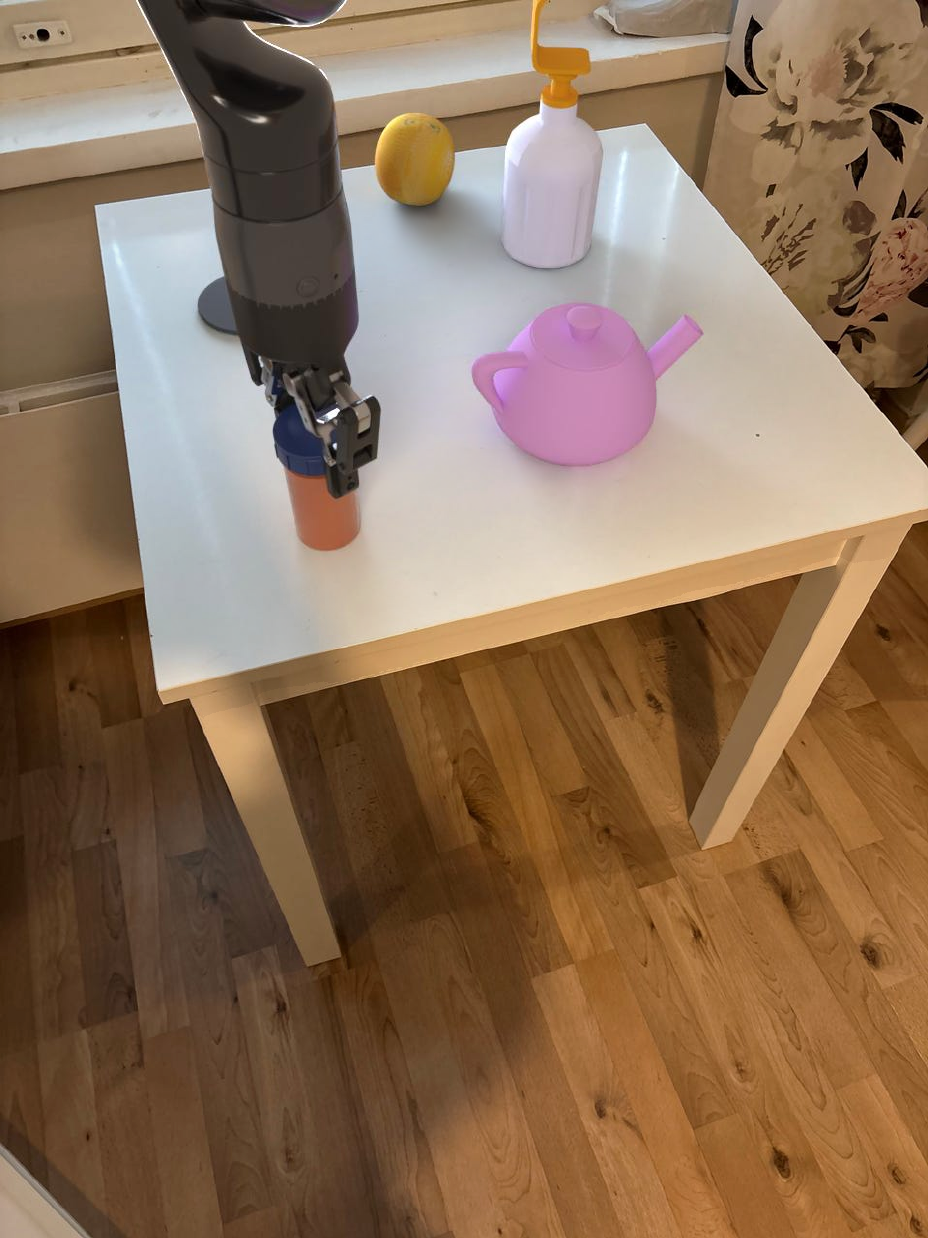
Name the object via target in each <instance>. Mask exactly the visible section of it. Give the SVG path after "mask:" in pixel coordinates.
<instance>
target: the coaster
mask: <svg viewBox="0 0 928 1238" xmlns="http://www.w3.org/2000/svg"><path fill="white" fill-rule="evenodd" d="M197 309H198V310H197V311H198V313H199V316H200V318H201V320H202V321H203V322H204V323H205V324H206V326H208V327H210V328H211V329H213V330H215V331H216V332H220V333H223V334H227V335H233V336H238V334H237V332H236V328H235V324H234V319H233V315H232V310H231V305H230V300H229V296H228V291H227V286H226V282H225V277H224V275H223V276H221V277H219V278H217V279H215V280H214V281H212V282H210V283H209V284H207V286H206V287H204V289H203V290H202V291H201V293H200V294H199V298H198V300H197Z"/></svg>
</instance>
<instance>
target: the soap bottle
mask: <svg viewBox="0 0 928 1238" xmlns="http://www.w3.org/2000/svg"><path fill="white" fill-rule="evenodd" d="M549 1H550V0H532V9H531V13H532V14H531V24H530V25H531V26H530V53H531V64H532V68H533V69H534V70H535V71H536V73H539V74H542V75H546V77H547V78H548V79H550V80H551V84H549V85H546V86H545V87H544V88H542V90H541V95H540V101H539V102H540V105H539V113H538V114H536V115H533V116H531V117H528V118H527V119H525V120H524V121H523V122H521V123H520V124H519V125H517V126H516V127H515V128H514V129H513V130H512V131H511V134H510V136H509V138H508V141H507V143H506V147H505V150H504V151H505V152H504V153H505V154H504V170H503V173H504V174H503V187H502V189H503V190H502V193H503V194H502V207H501V209H502V210H501V226H500V227H501V229H500V241H501V243H502V246H503V249H504V251H505V252H506V253H507V254H508V255H509V256H510V258H512V259H513V260H515V261H517V262H519V263H521V264H523V265H525V266H529V267H533V268H537V269H559V268H564V267H569V266H572V265H574V264H575V263H577V262H580V261H582V259H584V257H585V256H586V255H587V254H588V252H589V251H590V250H591V249H590V248H591V243H592V237H593V231H594V223H595V215H596V209H597V201H598V196H599V195H598V194H599V193H598V192H599V188H600V187H599V186H600V179H601V174H602V173H601V172H602V166H603V158H604V157H603V156H604V148H603V143H602V141H601V138H600V136H599V133H598V132H597V131H596V130H595V129H594V128H593V127H592V126H591V125H590V124H589V123H587V122H586V121H585V120H584V119H582V118H580V117H578V116H577V115H578V114H577V112H578V105H579V94H580V93H579V91H578V90H577V89H576V88H575V87H573V86H571V82H572V81H574V80H576V79H577V78H578V76H585V75H589V73H591V69H592V66H591V58H590V51H589V50H588V49H586V48H584V47H572V46H571V47H568V46H567V47H565V46H564V47H563V46H543V45H540V44H539V43H538V40H539V25H540V16H541V13H542V9H543V7H544V5H545V4H546V3H548V2H549Z"/></svg>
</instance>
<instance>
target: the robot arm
mask: <svg viewBox="0 0 928 1238" xmlns="http://www.w3.org/2000/svg"><path fill="white" fill-rule="evenodd" d="M346 1H347V0H136V2H137V5H138V6H139V8H140V10H141V12H142V14H143V16H144V18H145V20H146V21H147V24H148V26H149V28H150V30H151V31H152V33H153V35H154V37H155V39H156V41H157V44H158V46H159V47H160V49H161V51H162V53H163V55H164V58H165V59H166V61H167V64H168V65H169V68H170V70H171V72H172V74H173V76H174V79H175V81H176V83H177V84H178V87H179V88H180V91H181V93H182V95H183V97H184V99H185V101H186V103H187V105H188V108H189V109H190V112H191V114H192V117H193V119H194V122H195V124H196V128H197V132H198V137H199V143H200V148H201V151H202V153H201V154H202V157H203V163H204V167H205V172H206V177H207V181H208V186H209V190H210V193H211V202H212V213H213V227H214V235H215V240H216V244H217V250H218V254H219V258H220V263H221V267H222V272H223V276H224V277H225V282H226V286H227V291H228V296H229V300H230V305H231V310H232V315H233V319H234V324H235V328H236V332H237V334H238V335H237V336H238V339H239V341H240V345H241V348H242V352H243V354H244V359H245V362H246V365H247V368H248V371H249V375H250V379H251V381H252V382H253V384H254V385H255V386H256V387H261V386H262V385H264V387H265V388H264V396H265V400H266V402H267V403H268V404H269V405H270V407H271V408H273V413H274V417H275V418H274V419H276V418H277V417H278V416H279V414H280V413H281V412H283V411H284V410H285V409H286V408H288V407H290V406H292V405H294V404H296V405H297V407H298V410H299V413H300V416H301V418H302V421H303V424H304V426H305V429H306V431H307V432H308V433H310V434H312V435H314V436H316V438H317V441H318V444H319V447H320V449H321V452H322V455H323V462H324V469H325V476H326V483H327V490H328V492H329V493H330V495H331V496H332V497H333V498H334V499H338V498H340V497H343V496H345V495H346V494H348V493H350V492H352V491H354V490H358V489H359V488H360V477H359V469H360V468H362V467H364V466H366V465H368V464H370V463H371V462H373V461H375V460H377V458H378V452H379V439H380V429H381V428H380V425H381V413H382V408H381V404H380V402H379V401H378V399H377V397H376V396H375V395H373V394H369V395H367V396H366V397H364V398H361V397H360V396H359V395H358V394H357V393H356V392H355V390H354V389H353V387H351V385H352V376H351V373H350V371H349V368H348V364H347V361H346V357H345V353H346V351H347V350H348V347H349V344H350V343H351V341H352V339H353V338H354V336H355V335H356V333H357V329H358V326H359V322H360V321H359V320H360V315H359V313H360V312H359V303H358V293H357V279H356V267H355V266H356V265H355V257H354V245H353V244H354V243H353V235H352V234H353V233H352V225H351V216H350V211H349V207H348V206H349V205H348V202H347V198H346V194H345V190H344V183H343V175H342V163H341V152H340V140H339V127H338V115H337V109H336V108H337V107H336V101H335V97H334V91H333V88H332V85H331V83H330V81H329V79H328V78H327V76H326V74H325V73H324V72H323V71H322V70H321V69H320V68H319V67H317V66H316V65H315V64H313V63H312V62H311V61H309V60H308V59H306V58H304V57H302V56H299V55H297V54H294V53H293V52H289V51H287V50H285V49H282V48H280V47H278V46H276V45H273V44H271V43H270V42H269V41H268V42H267V41H265V40H264V39H262V38H261V37H259V36H258V35H256V33H254V32H253V31H252V30H251V29H250V28H249V27H248V25H247V24H246V22H250V23H251V22H252V23H261V24H270V25H277V26H288V27H299V28H301V27H312V26H315V25H318V24H320V23H324V22H325V21H327V20H328V19H330V18H331V17H333V16H334V15H335V14H336V13H337V12H339V11H340V9H341V8H342V7H343V6H344V4H346ZM259 358H260V359H259ZM261 363H262V364H261ZM335 403H336V404H338V407H337V408H336V409H335V410H333V411H331V412H329V413H327V414H325V415H323V416H321V417H319V418H317V419H316V416H315V413H314V412H320V411H322V410H324V409H326V408H328V407H330V406H332V405H334V404H335ZM335 429H337V443H335V444H332V441H331V439H330V433H331V432H332V431H333V430H335Z"/></svg>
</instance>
